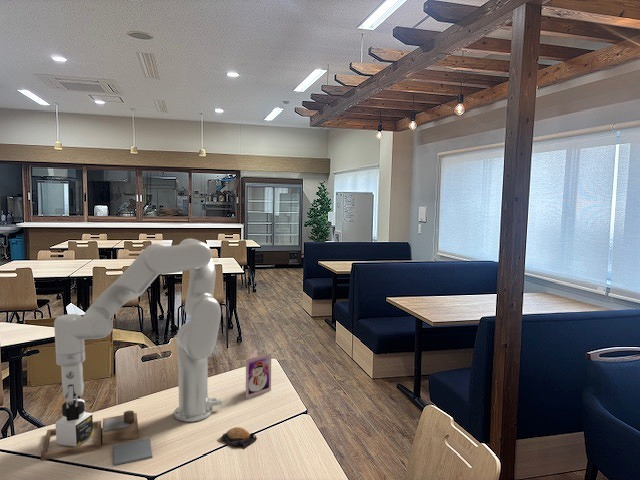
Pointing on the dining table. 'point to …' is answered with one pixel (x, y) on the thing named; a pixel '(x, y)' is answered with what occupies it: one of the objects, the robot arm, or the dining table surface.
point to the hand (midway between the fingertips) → (73, 413)
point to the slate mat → (132, 451)
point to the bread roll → (238, 438)
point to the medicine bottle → (74, 427)
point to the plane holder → (99, 435)
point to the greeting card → (258, 374)
